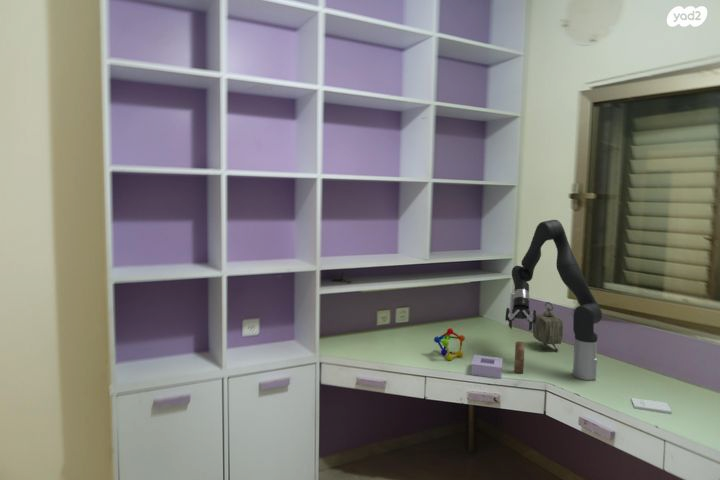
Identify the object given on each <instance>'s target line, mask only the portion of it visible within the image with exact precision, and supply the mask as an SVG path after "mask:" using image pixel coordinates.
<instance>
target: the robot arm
mask: <svg viewBox="0 0 720 480" xmlns="http://www.w3.org/2000/svg"><path fill="white" fill-rule="evenodd" d="M552 240H553V243H554V245H555V247H556V253H557V256H556V270H557V272H558V275H559V277H560V280H561V281H562V283H564V285H565V287H567V288H568V289H569V290H570V291H571V292H572V293H573V295H574V296H575V298H576V299H577V302H578V303H579V305H578V306H577V307H576V308H575V309H574V311H573V318H572V319H573V324H572V327H573V329H572V330H573V334H574V344H573V345H574V346H573V358H572V359H573V360H572V361H573V362H572V377H575V378H576V379H580V380H582V381H583V380H586V381H593V380H595V381H596V379H597V378H596V377H597V366H598V365H597V364H598V358H597V350H598V334H597V333H595V332H594V329H595V327H594V325H595V324H598V323H599V322H601V321H602V318H603V311H602V309H601V307H600V305H599V304H598V302H597V300H596V299H595V296H594V295H593V294H592V291H591V290H590V287H589V286H588V283H587V281H586V279H585V277H584V275H583V272H582V270H581V267H580V266H579V264H578V261H577V260H576V257H575V255H574V253H573V250H572V248H571V246H570V244H569V240H568V238H567V234H566V231H565V229H564V226H563V224H562V223H561V222H560V221H559V220H557V219H550V220H545V221H541V222H539V223H538V225H536V228H535V231H534V234H533V237H532V239H531V242H530V245H529V247H528V250H527V251H526V253H525V255H524V256H523V258H522V260H521V265H515V266H513V267H512V270H511V278H512V281H513V285H514V290H513V291H514V292H513V301H512V302H513V305H512V309H510V308H509V307H506V311H505V319H504V321H506V322H508V327H509V329H510V330H512V328H513V321H514V320H516V319H521V320H526V322H528V331H531V330H532V331H533V323H536V315H537V311H536V310H533V311H532V310H530V285H529V282H530V281H531V280H532V279H533V276H534V271H535V268H536V266H537V264H538V263H539V261H540V260H541V256H542V247H543V246H544V244H545V242H547V241H552ZM511 313H512V315H511V316H510V317H509V315H510V314H511ZM530 316H532V317H530Z"/></svg>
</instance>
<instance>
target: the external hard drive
mask: <svg viewBox="0 0 720 480" xmlns="http://www.w3.org/2000/svg"><path fill="white" fill-rule="evenodd" d="M630 401H631V404H632V406H633V408H634V409H636V408H637V409H636V410H642V409H644V411H648V410H650V411H649V412H655V411H656V413H663V414H668V415H671V414H672V410H671V407H670V406H669V404H668V403H667V402H663V401H656V400H649V399H643V398H641V399H640V398H636V397H630Z"/></svg>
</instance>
